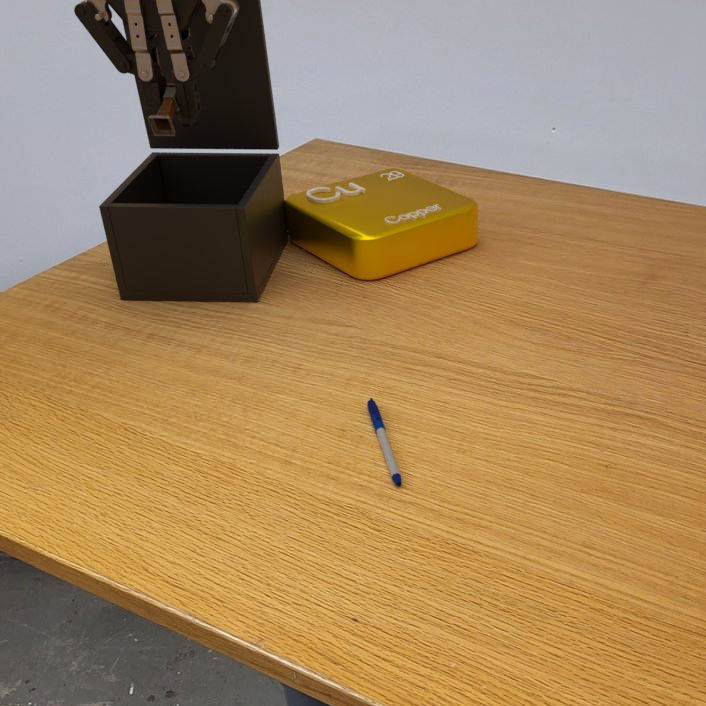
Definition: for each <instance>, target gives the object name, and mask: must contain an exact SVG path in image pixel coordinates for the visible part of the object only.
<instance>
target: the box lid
mask: <svg viewBox="0 0 706 706" xmlns="http://www.w3.org/2000/svg"><path fill="white" fill-rule="evenodd" d="M236 1H237V2H238V4H239V11H238V13H237V15H236V18H235V20H234V23H233V25H232V27H231V30H230V32H229V34H228V37H227V39H226V41H225V44H224V46H223V48H222V51H221V53H220V56H219V58H218V60H217V63H216V64H215V66H213V67H212V68H211V69H210V70H209V71H208V72H207V73H205V74H201V75H198V77H197V82H198V89H199V95H200V103H201V108H202V110H201V114H200V116H199V117H198V118H197V119H196V122H195V123H194V124H193V126H192V127H183V126H182V124H181V121H179V120H178V117H177V114H176V112H175V110H177V109H178V104H177V106H175V108H174V112H173V119H172V124H173V127H174V129H175V132H176V133H175V136H154V133H153V131H152V128H151V126H150V123H149V121H148V118H149V113H148V108H147V103H146V98H145V92H144V87H143V83H142V81H141V79H140V78H139V77H137V76H135V75H133V76H134V80H135V85H136V90H137V94H138V98H139V104H140V108H141V112H142V117H143V122H144V126H145V131H146V136H147V139H148V144H149V148H150V149H153V150H155V149H156V150H158V149H160V150H164V149H165V150H249V151H250V150H251V151H252V150H254V151H255V150H259V151H261V150H263V151H264V150H266V151H268V150H269V151H277V150H278V151H279V149H280V140H279V133H278V126H277V118H276V111H275V110H276V109H275V102H274V95H273V87H272V78H271V72H270V71H271V70H270V64H269V55H268V48H267V40H266V32H265V26H264V17H263V11H262V3H261V2H262V1H261V0H236ZM205 13H206V7H205V5H204V3H202V5H201V7H200V9H199V11H198V13H197V15H196V17H195V19H194V21H193V23H192V25H191V30H192V35H193V49H194V55H195V57H197V56H198V54H199V52H200V49H201V47H202V44H203V42H204V40H205V37H206V35H207V32H208V30H209V27H210V25H211V24H210V23H209V22H208V21H207V20H206V17H205ZM121 21H122V25H123V31H124V34H125V35H124V36H125V39H126V40H127V42H128V43H129V45H130V46H131V47H132V44H131V37H130V30H129V27H128V26H127V25H126V24H125V23H124V22H123V20H122V19H121ZM138 36H139V35H138ZM159 39H160V43H159V54H160V61H161V76H165V78H166V84H168V83H170V81H171V79H172V76H173V75H172V70H173V64H172V59H171V55H170V53H169V52H168V49H167V45H166V41H165V36H163V35H160V34H159Z"/></svg>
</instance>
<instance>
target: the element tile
mask: <svg viewBox="0 0 706 706" xmlns="http://www.w3.org/2000/svg"><path fill="white" fill-rule="evenodd" d="M284 200H285V210H286V218H287V227H288V235H289V241H291V243H293V244H295V245H296V246H298V247H300V248H302V249H304V250H305V251H307V252H308V253H311V254H312V255H313V256H316V257H317V258H319V259H321V260H323V261H324V262H326V263H328V264H330V265H331V266H333V267H334V268H336V269H338V270H340V271H342V272H343V273H345V274H347V275H348V276H350V277H352V278H355V279H356V280H357V279H358V280H362V281H373V280H375V281H376V280H379V279H383V278H386V277H387V278H388V277H390V276H393V275H395V274H399V273H402V272H405V271H407V270H410V269H413V268H417V267H419V266H422V265H425V264H428V263H431V262H434V261H437V260H440V259H442V258H446V257H449V256H452V255H454V254H457V253H461V252H463V251H466V250H469V249H471V248H473V247H474V246H475V245H477V244H478V239H479V203H478V202H477V201H476V200H474V199H473V198H470V197H468V196H467V195H464V194H462V193H460V192H457V191H455V190H452V189H450V188H447V187H445V186H442V185H440V184H438V183H435V182H433V181H432V180H431V181H430V180H428V179H426V178H424V177H421V176H418V174H414V173H412V172H410V171H407V170H403V169H400V168H396V167H393V168H387V169H383V170H379V171H376V172H372V173H371V172H370V173H368V174H364V175H360V176H357V177H353V178H349V179H346V180H345V179H344V180H342V181H338V182H333V183H329V184H326V185H323V186H319V187H313V188H310V189H308V190H304V191H301V192H297V193H293V194H289V195H287V196H286V198H285V199H284Z"/></svg>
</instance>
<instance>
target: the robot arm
mask: <svg viewBox="0 0 706 706" xmlns="http://www.w3.org/2000/svg"><path fill="white" fill-rule="evenodd" d="M202 3H204V5H205V7H206V13H205V17H206V20H207V21H208V22H209V23H210V24H211V25H210V27H209V30H208V32H207V35H206V37H205V40H204V42H203V44H202V47H201V49H200V52H199V54H198V56H197V57H195V55H194V49H193V35H192V30H191V25H192V23H193V21H194V19H195V17H196V15H197V13H198V11H199V9H200V7H201V5H202ZM111 9H112V10H113V11H114V12H115V14H116V15H117V16H118V17H119V18H120V19H121V21H122V20H123V22H124V23H125V24H126V25H127V26H128V27H129V30H130V37H131V44H132V47H131V46H130V45H129V43H128V42H127V40H126V37H125V35H123V34H122V32H121V31H120V30H119V28H118V27H117V26H116V24H115V23H114V21H113V20H112V18H113V12H112V10H111ZM238 11H239V4H238V2H237V1H236V0H82V1H80V2H79V3H77V4H76V5H75V6H74V8H73V12H74V15H75V17H76V18H77V19H78V21H79V22H80V23H81V24H82V26H83V27H84V29H86V31H87V32H88V34H89V35H90V36H91V37H92V39H93V40H94V42H95V43H96V44H97V45H98V47H99V48H100V50H102V52H103V53H104V55H105V56H106V57H107V59H109V61H110V63H111V64H112V65H113V66H114V68H115V69H116V70H117V71H118V72H119V73H120V74H123V75H124V74H125V75H126V74H130V75H133V76H134V75H135V76H137V77H139V78H140V79H141V81H142V83H143V87H144V92H145V98H146V103H147V108H148V113H149V115H150V116H156V114H157V113H158V111H159V109H160V107H161V106H162V104H163V101H164V99H163V96H164V94H165V91H166V87H167V84H166V78H165V76H161V61H160V54H159V43H160V39H159V34H160V35H163V36H165V41H166V45H167V49H168V52H169V53H170V55H171V59H172V64H173V69H174V73H175V77H176V78H177V79H178V80H177V81H176V82H175V89H176V95H177V101H178V107H179V113H180V119H181V124H182V126H183V127H192V126H193V124H194V123H195V122H196V119H197V118H198V117H199V116H200V114H201V110H202V108H201V103H200V95H199V89H198V82H197V77H198V75H201V74H205V73H207V72H208V71H209V70H210V69H211V68H212V67H213V66H215V64H216V63H217V60H218V58H219V56H220V53H221V51H222V48H223V46H224V44H225V41H226V39H227V37H228V34H229V32H230V30H231V27H232V25H233V23H234V20H235V18H236V15H237V13H238ZM123 22H122V23H123ZM138 35H139V36H138ZM135 76H134V77H135Z"/></svg>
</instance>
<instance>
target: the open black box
mask: <svg viewBox="0 0 706 706" xmlns="http://www.w3.org/2000/svg"><path fill="white" fill-rule="evenodd" d="M283 183H284V182H283V175H282V166H281V156H280V153H278V152H277V153H275V152H274V153H271V152H269V153H267V152H264V153H262V152H260V153H259V152H255V153H254V152H168V151H167V152H159V151H156V152H155V151H153V152H151V153H150V154H149V155H148V156H147V157H146V158H145V159H144V160H143V161H142V162H141V163H140V164H139V165H138V166H137V167H136V168H135V169H134V170H133V171H132V172H131V173H130V174H129V175H128V176H127V177H126V178H125V179H124V180H123V182H121V184H119V185H118V186H117V187H116V188H115V189H114V190H113V192H111V193H110V194H109V195H108V197H107V198H106V199H104V200H103V202H102V203H101V204H100V205H99V206H98V208H99V213H100V217H101V221H102V226H103V230H104V232H105V233H104V234H105V238H106V243H107V248H108V251H109V255H110V260H111V264H112V267H113V274H114V277H115V281H116V285H117V286H116V287H117V290H118V294H119V298H120V301H170V302H171V301H172V302H177V301H178V302H224V303H225V302H226V303H227V302H230V303H231V302H232V303H258V302H259V301H260V298H261V296H262V294H263V292H264V291H265V289H266V286H267V285H268V282H269V280H270V278H271V276H272V274H273V272H274V271H275V268H276V266H277V263H278V262H279V260H280V257H281V255H282V254H283V251H284V250H285V247H286V246H287V243H288V241H289V240H290V238H289V235H288V227H287V218H286V210H285V200H286V199H285V192H284V184H283Z"/></svg>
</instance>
